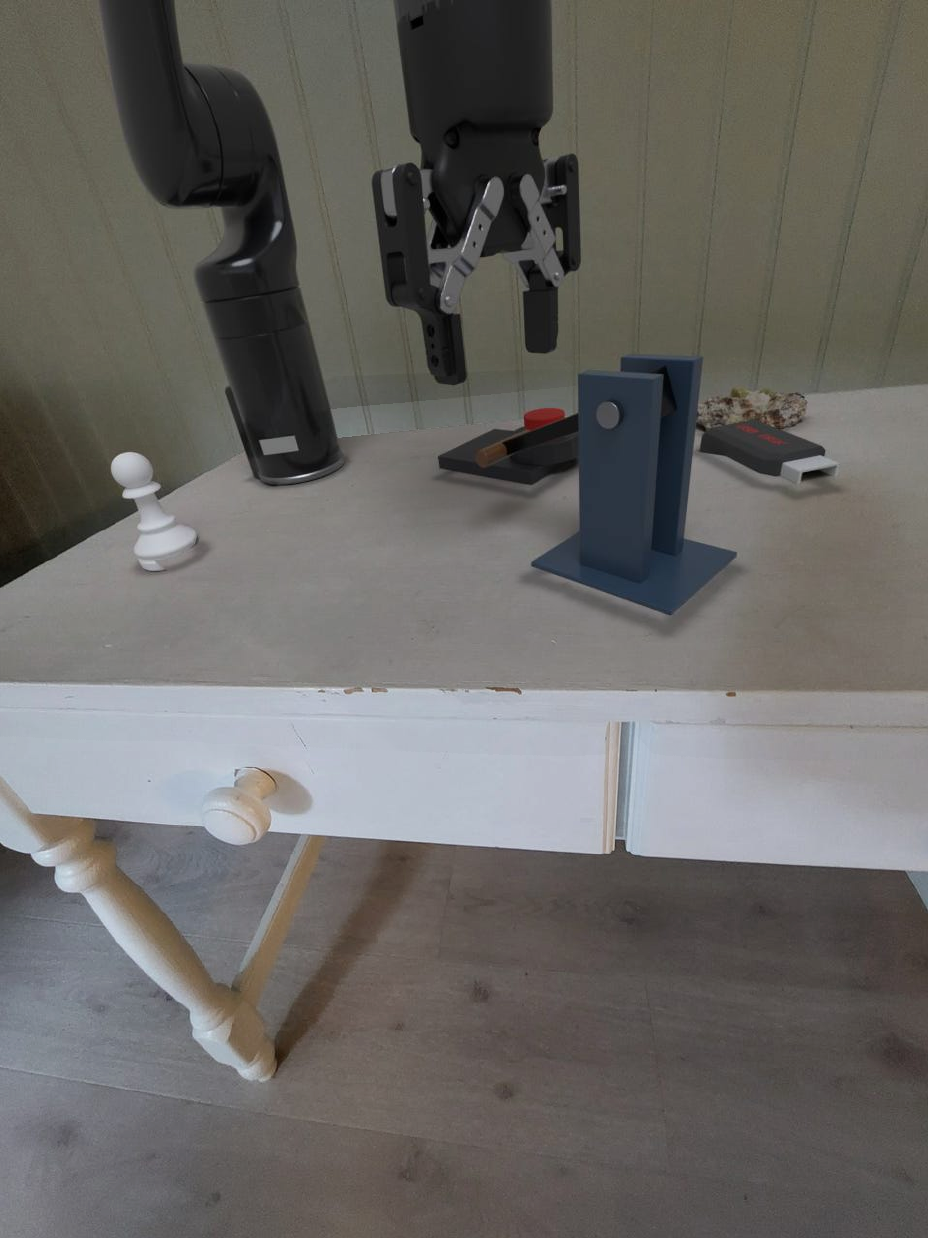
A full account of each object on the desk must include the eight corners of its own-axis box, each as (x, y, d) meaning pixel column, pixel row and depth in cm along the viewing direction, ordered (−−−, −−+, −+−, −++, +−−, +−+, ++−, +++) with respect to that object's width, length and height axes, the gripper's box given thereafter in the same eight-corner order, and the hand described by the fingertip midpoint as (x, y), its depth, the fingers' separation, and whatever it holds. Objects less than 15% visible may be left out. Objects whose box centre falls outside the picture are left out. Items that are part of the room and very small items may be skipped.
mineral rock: (709, 419, 53) (691, 376, 58) (699, 458, 57) (683, 414, 62) (830, 410, 52) (801, 368, 57) (813, 451, 56) (787, 407, 61)
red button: (517, 440, 51) (515, 417, 50) (539, 428, 53) (538, 406, 52) (550, 445, 49) (549, 421, 48) (573, 432, 51) (572, 409, 50)
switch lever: (482, 478, 39) (469, 444, 38) (528, 455, 42) (517, 423, 41) (642, 428, 29) (628, 380, 28) (690, 402, 31) (679, 358, 31)
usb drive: (750, 442, 54) (755, 413, 52) (845, 485, 44) (854, 450, 42) (698, 452, 53) (702, 423, 51) (782, 498, 43) (790, 463, 42)
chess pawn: (157, 577, 45) (102, 469, 40) (131, 563, 48) (78, 460, 43) (213, 551, 48) (170, 446, 43) (186, 539, 51) (142, 439, 46)
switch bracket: (531, 578, 38) (518, 377, 31) (600, 532, 42) (603, 346, 35) (669, 630, 32) (693, 391, 24) (734, 569, 36) (771, 351, 29)
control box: (440, 477, 56) (434, 437, 54) (496, 448, 61) (492, 410, 59) (549, 499, 49) (547, 453, 46) (601, 464, 54) (602, 421, 52)
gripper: (513, 41, 33) (526, 342, 43) (305, 18, 26) (376, 389, 35) (623, -3, 29) (611, 346, 38) (408, -47, 21) (459, 401, 30)
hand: (498, 366), depth 36 cm, fingers open, 8 cm apart
